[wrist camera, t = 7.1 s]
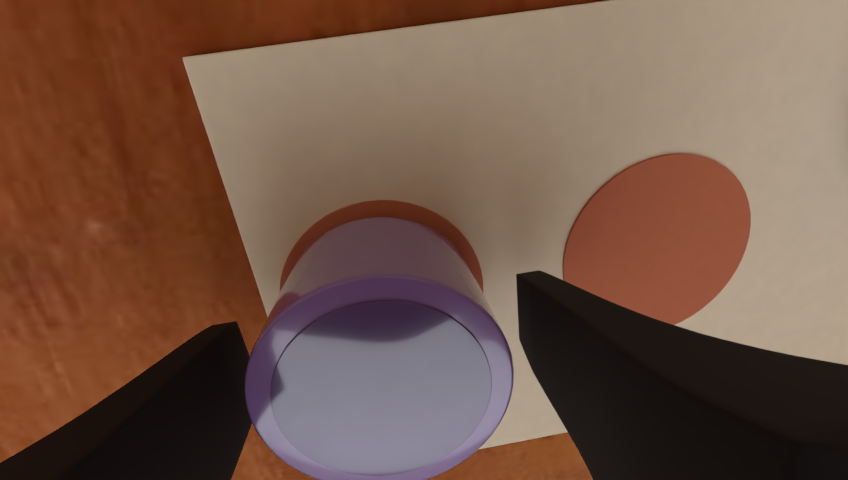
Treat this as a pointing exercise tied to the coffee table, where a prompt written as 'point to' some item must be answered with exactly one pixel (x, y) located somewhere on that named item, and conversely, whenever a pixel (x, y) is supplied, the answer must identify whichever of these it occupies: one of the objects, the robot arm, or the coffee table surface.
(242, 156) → the mat
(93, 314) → the coffee table surface
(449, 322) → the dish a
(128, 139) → the coffee table surface
